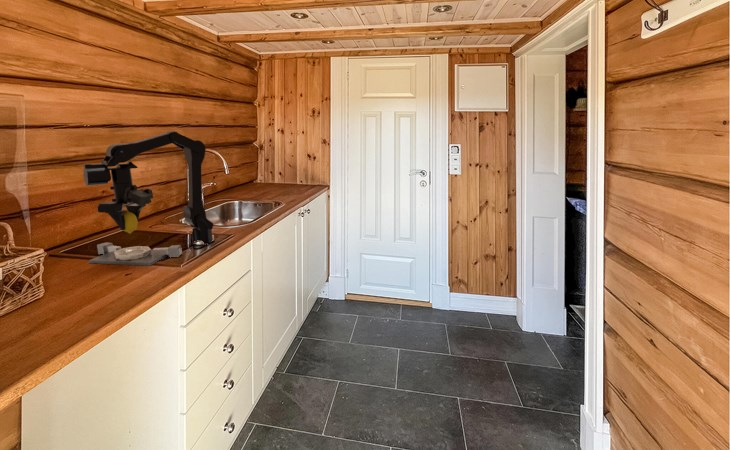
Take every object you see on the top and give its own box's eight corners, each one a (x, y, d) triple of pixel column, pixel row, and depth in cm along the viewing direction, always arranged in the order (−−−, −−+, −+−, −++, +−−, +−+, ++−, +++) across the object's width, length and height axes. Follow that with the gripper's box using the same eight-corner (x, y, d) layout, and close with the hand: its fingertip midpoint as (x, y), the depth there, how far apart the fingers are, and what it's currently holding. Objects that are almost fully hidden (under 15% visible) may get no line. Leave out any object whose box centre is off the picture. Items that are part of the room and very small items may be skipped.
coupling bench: (186, 253, 146) (185, 244, 145) (162, 266, 132) (161, 256, 131) (107, 250, 150) (106, 241, 149) (76, 262, 136) (75, 252, 135)
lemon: (118, 236, 136) (115, 213, 134) (123, 232, 141) (119, 209, 139) (137, 235, 137) (133, 212, 135) (140, 231, 142) (137, 208, 140)
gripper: (124, 187, 125) (131, 235, 128) (162, 179, 143) (167, 222, 146) (92, 186, 126) (100, 234, 130) (133, 179, 144) (139, 221, 148)
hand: (129, 227), depth 138 cm, fingers closed on lemon, 5 cm apart
